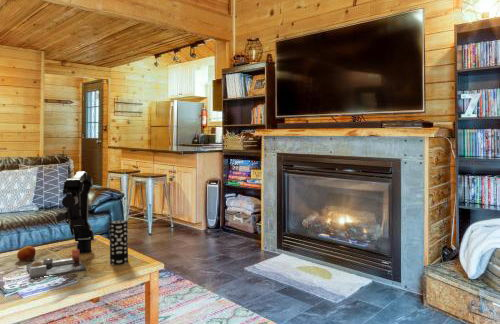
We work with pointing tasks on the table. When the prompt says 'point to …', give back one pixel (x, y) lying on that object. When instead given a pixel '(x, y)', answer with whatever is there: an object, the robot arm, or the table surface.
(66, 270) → the base
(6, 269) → the table surface
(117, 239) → the spotted tube
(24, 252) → the fruit
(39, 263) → the wooden ball
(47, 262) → the lever
